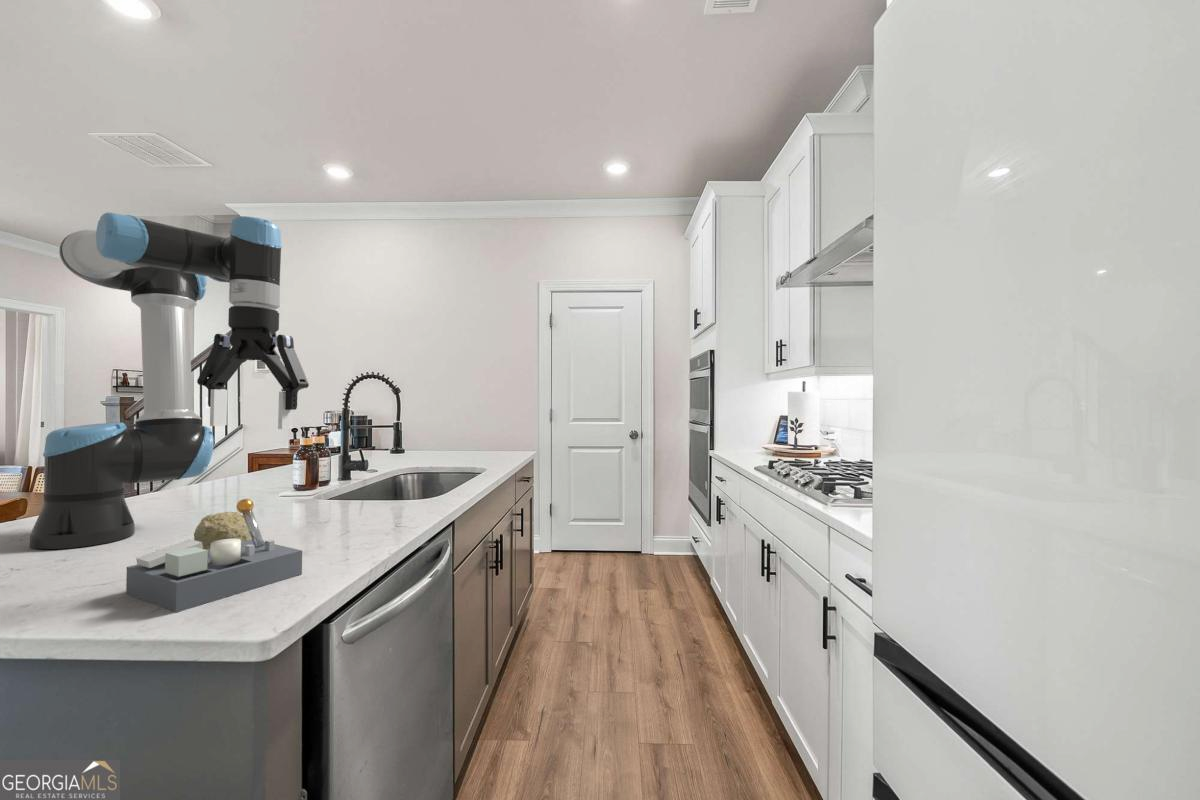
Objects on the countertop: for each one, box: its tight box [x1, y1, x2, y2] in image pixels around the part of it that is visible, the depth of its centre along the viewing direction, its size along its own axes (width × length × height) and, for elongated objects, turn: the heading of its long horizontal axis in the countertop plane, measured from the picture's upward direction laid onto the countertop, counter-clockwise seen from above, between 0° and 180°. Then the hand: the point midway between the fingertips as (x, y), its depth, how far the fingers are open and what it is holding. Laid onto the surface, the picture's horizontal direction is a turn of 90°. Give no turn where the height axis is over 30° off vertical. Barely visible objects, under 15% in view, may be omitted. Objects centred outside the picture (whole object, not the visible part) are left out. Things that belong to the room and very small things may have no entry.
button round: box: [210, 539, 241, 565], centre depth 80 cm, size 4×4×3 cm
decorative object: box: [193, 511, 252, 550], centre depth 98 cm, size 9×10×10 cm
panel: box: [125, 539, 303, 613], centre depth 83 cm, size 14×18×6 cm
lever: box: [236, 498, 265, 548], centre depth 88 cm, size 2×2×9 cm
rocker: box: [135, 538, 203, 568], centre depth 80 cm, size 4×7×1 cm, turn 153°
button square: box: [165, 547, 208, 577], centre depth 76 cm, size 4×4×3 cm
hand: (251, 427), depth 93 cm, fingers open, 13 cm apart
